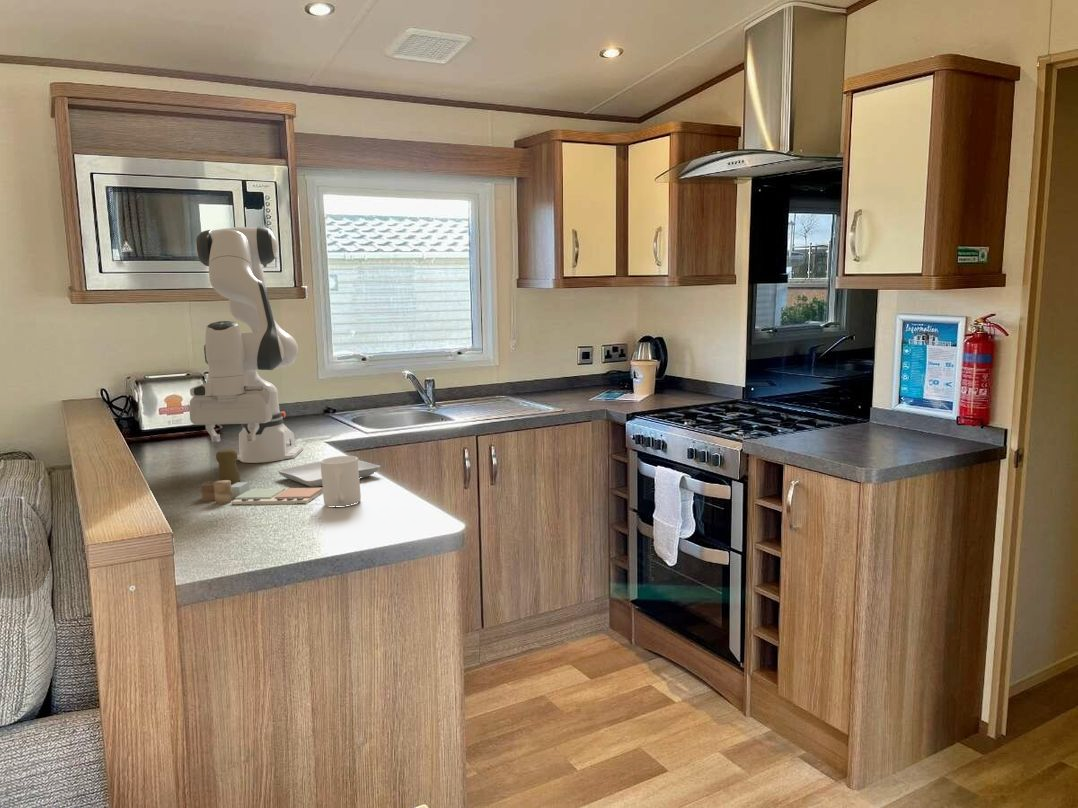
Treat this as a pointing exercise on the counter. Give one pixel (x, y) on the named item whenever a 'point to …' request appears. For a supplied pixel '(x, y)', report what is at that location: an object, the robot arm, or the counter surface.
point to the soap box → (239, 488)
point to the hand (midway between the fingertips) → (233, 441)
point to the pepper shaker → (228, 465)
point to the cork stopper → (223, 491)
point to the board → (278, 496)
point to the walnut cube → (208, 490)
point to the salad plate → (312, 472)
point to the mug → (340, 480)
